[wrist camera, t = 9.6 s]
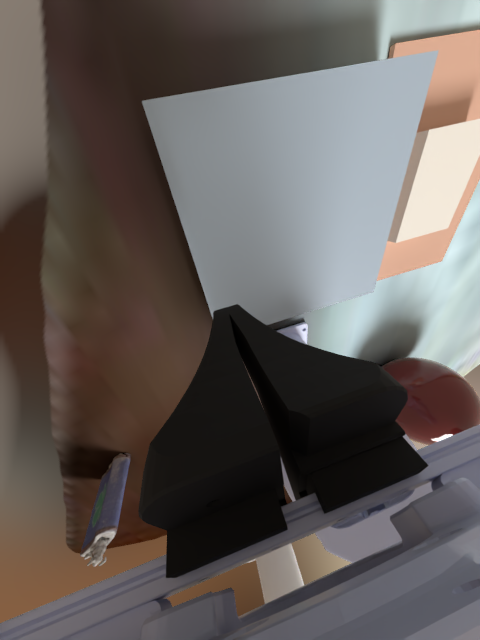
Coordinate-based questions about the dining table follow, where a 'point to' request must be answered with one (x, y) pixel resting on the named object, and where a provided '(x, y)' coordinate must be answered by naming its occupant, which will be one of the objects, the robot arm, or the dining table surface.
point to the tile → (435, 179)
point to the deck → (291, 180)
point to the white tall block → (278, 573)
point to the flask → (106, 510)
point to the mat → (439, 110)
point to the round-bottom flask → (434, 400)
